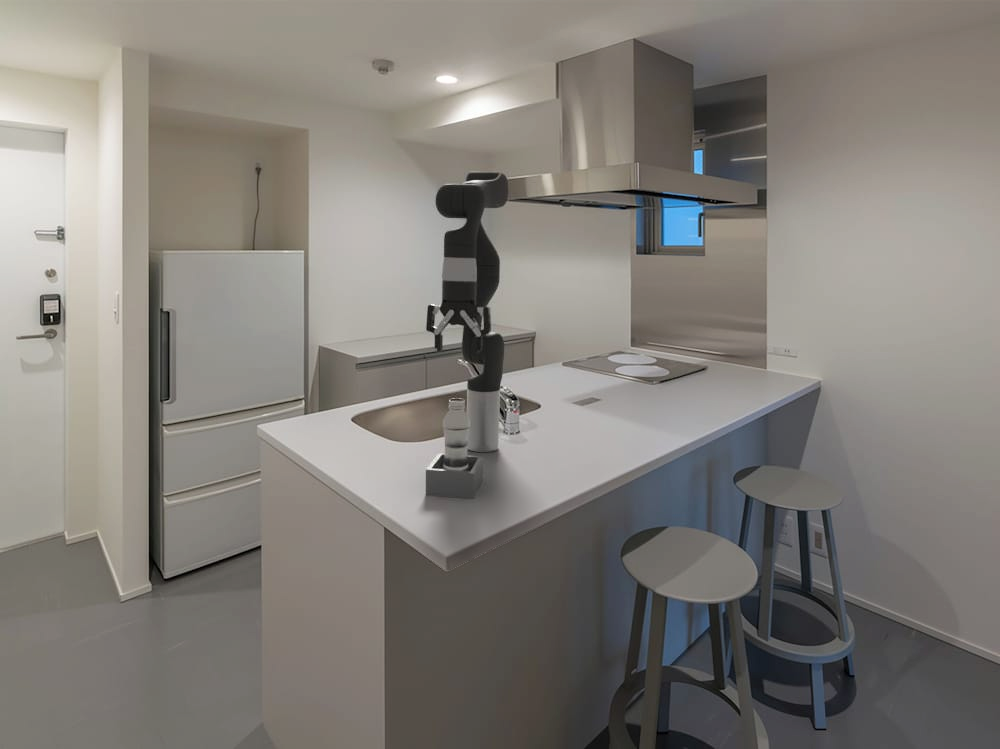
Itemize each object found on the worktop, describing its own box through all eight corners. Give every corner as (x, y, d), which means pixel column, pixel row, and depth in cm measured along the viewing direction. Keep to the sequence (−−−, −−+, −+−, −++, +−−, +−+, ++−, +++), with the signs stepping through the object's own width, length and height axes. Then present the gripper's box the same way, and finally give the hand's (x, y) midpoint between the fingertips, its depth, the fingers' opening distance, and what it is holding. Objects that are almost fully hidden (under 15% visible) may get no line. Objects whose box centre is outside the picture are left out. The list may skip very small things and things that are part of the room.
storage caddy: (438, 476, 145) (438, 452, 144) (482, 479, 144) (483, 456, 143) (425, 494, 134) (425, 469, 133) (473, 498, 132) (474, 473, 131)
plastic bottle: (469, 477, 142) (471, 396, 138) (469, 488, 136) (470, 403, 132) (442, 477, 142) (443, 396, 138) (440, 488, 135) (441, 403, 131)
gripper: (494, 279, 133) (492, 351, 136) (432, 277, 135) (431, 348, 138) (488, 280, 125) (486, 356, 128) (423, 278, 127) (422, 352, 130)
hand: (458, 352), depth 133 cm, fingers open, 8 cm apart
